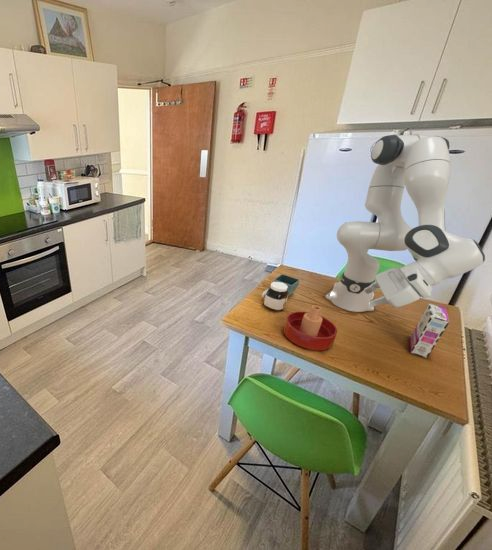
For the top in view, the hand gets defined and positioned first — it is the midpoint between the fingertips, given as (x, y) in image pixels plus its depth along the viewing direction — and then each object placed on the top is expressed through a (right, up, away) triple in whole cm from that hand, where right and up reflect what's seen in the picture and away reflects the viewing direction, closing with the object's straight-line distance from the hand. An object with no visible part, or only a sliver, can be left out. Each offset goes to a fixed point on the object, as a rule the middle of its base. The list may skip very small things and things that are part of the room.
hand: (367, 297), depth 103 cm
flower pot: (-7, -2, +43) cm, 44 cm away
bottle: (-12, -16, +14) cm, 25 cm away
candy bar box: (+25, -20, +8) cm, 33 cm away
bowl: (-12, -17, +15) cm, 26 cm away
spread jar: (-16, -6, +36) cm, 40 cm away
